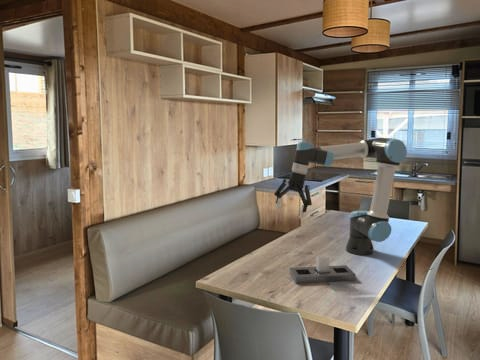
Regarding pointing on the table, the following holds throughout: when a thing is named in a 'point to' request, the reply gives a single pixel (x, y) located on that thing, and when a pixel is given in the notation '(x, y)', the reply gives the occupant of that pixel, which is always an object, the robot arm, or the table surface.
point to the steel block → (322, 264)
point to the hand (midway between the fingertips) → (288, 214)
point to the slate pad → (342, 286)
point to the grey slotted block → (333, 275)
